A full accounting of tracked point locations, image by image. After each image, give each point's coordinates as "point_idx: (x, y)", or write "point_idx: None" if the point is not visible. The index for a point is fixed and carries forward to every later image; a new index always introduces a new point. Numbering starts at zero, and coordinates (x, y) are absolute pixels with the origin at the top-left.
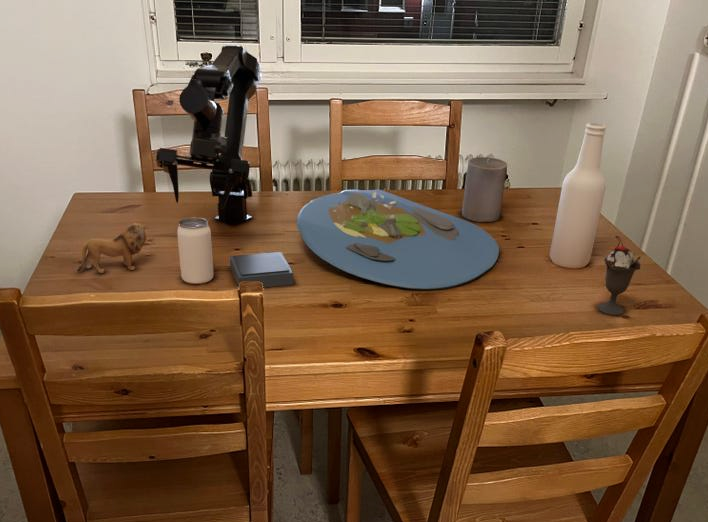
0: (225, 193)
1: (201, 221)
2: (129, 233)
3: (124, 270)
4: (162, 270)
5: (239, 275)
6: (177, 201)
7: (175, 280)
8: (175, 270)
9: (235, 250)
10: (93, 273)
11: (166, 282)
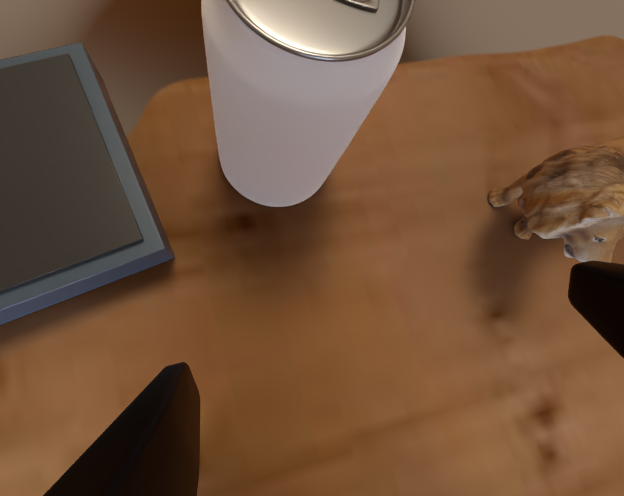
0: (92, 486)
1: (274, 22)
2: (611, 153)
3: None
4: (407, 204)
5: (82, 64)
6: (577, 265)
7: None
8: (367, 209)
9: None
10: None
11: None
